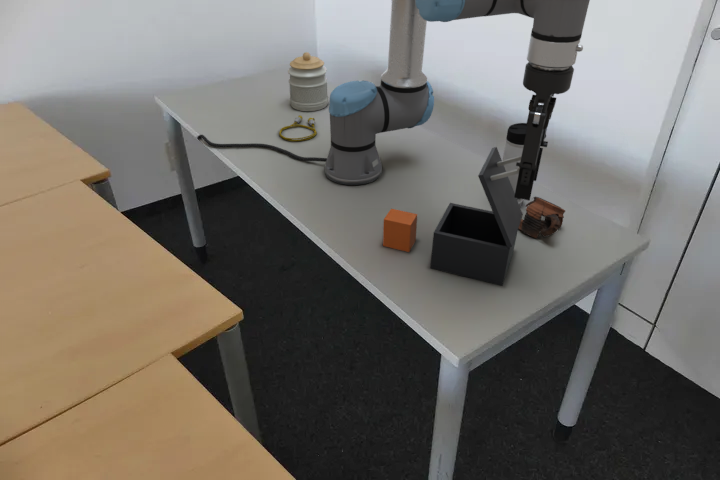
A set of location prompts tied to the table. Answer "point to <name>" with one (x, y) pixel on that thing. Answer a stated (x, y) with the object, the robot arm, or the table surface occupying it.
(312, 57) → the jar
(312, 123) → the extension cord
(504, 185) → the hinged box lid
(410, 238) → the orange block
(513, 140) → the travel mug
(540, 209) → the pottery mug
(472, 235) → the open box
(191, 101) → the table surface
